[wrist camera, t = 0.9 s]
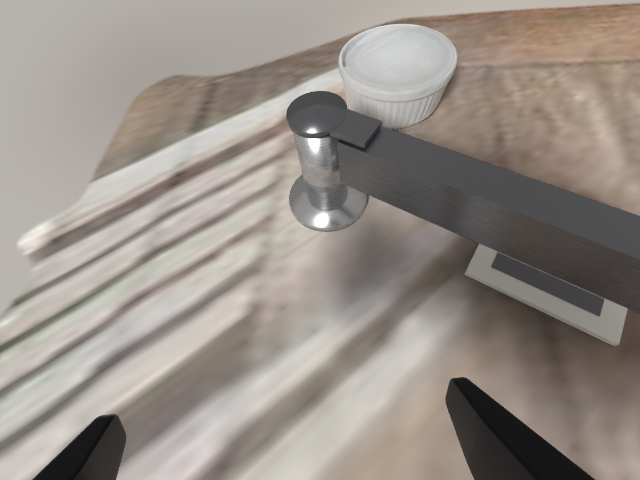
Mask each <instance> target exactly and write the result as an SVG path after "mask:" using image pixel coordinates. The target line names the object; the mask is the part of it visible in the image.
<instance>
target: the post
mask: <svg viewBox="0 0 640 480" xmlns="http://www.w3.org/2000/svg"><path fill="white" fill-rule="evenodd" d="M293 133H294V132H293ZM294 138H295V142H296V147H297V151H298V156H299V160H300V165H301V169H302V175H301V176H300V177H299V178H298V179H297V180H296V181H295V183H294V184H293V186H292V188H291V191H290V195H289V202H290V206H291V209H292V212H293V214H294V216H295V217H296V219H297V220H298V221H299V222H300V223H301V224H303V225H304V226H306V227H308V228H310V229H313V230H317V231H325V232H327V231H336V230H340V229H343V228H345V227H347V226H349V225H351V224H352V223H354V222H355V221H356V220H357V219H358V218H359V217H360V216H361V215H362V213H363V211H364V209H365V207H366V202H367V194H365V193H363V192H361V191H358V190H356V189H354V188H352V187H349V186H347V185H345V184H342V183H340V177H339V163H338V150H337V141H338V140H339V139H338V138H336V137H333V136H328V137H324V138H318V139H310V138H304V137H301V136H299V135H297V134H295V133H294Z"/></svg>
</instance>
